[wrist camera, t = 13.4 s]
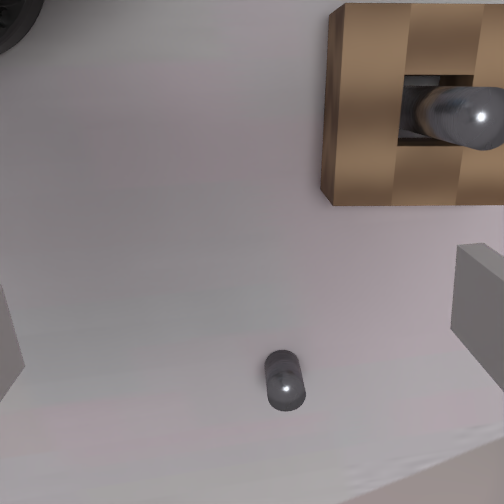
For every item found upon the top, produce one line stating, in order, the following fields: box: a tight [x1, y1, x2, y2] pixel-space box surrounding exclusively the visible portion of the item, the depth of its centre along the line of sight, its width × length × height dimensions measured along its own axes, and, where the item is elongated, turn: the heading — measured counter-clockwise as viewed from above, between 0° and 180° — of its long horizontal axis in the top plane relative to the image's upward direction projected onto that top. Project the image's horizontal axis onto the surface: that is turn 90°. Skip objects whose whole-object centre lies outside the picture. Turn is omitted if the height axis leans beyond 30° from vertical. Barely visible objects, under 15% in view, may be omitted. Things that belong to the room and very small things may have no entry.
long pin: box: [399, 86, 504, 151], centre depth 34 cm, size 4×4×14 cm
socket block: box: [320, 3, 504, 206], centre depth 38 cm, size 14×14×6 cm
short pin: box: [265, 350, 306, 411], centre depth 46 cm, size 4×4×5 cm
